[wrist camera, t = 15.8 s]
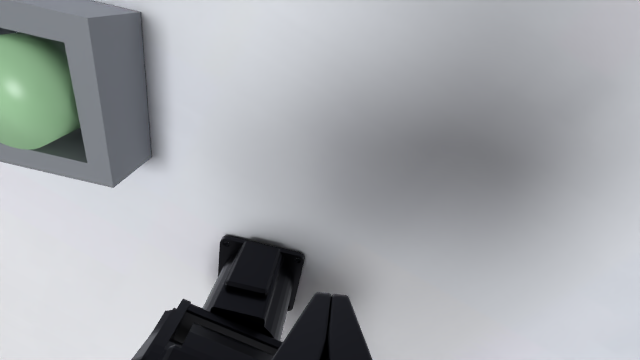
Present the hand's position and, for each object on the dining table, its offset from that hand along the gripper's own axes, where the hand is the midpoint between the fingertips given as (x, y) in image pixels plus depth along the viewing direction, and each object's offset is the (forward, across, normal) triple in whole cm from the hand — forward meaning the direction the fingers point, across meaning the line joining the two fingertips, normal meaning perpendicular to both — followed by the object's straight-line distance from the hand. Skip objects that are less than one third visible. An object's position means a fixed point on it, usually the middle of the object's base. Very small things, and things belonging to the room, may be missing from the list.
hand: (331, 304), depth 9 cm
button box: (+13, +17, -2) cm, 21 cm away
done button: (+12, +17, -2) cm, 21 cm away
